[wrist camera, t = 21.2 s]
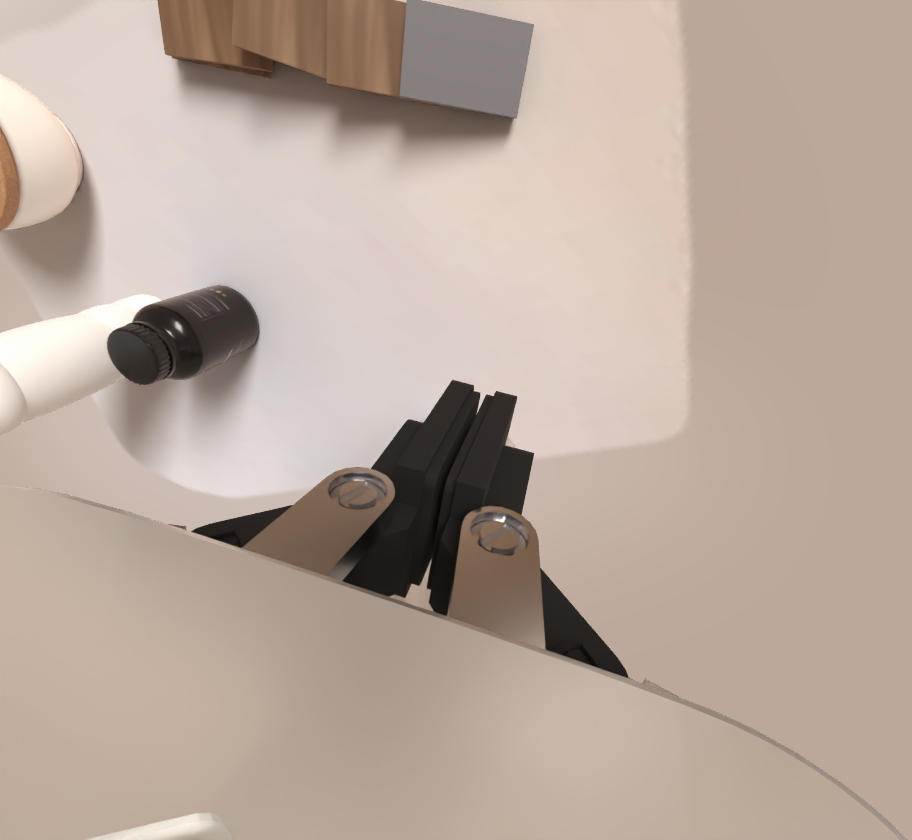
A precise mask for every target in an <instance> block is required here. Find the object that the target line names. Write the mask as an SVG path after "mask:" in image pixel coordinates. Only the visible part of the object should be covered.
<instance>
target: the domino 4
mask: <svg viewBox="0 0 912 840" xmlns="http://www.w3.org/2000/svg"><path fill="white" fill-rule="evenodd" d="M533 27H534V24H529V23H525V22H520V21H515V20H511V19H506V18H501V17H497V16H492V15H487V14H483V13H478V12H473V11H469V10H464V9H459V8H455V7H450V6H445V5H441V4H436V3H431V2H427V1H422V0H407V5H406V18H405V31H404V44H403V57H402V70H401V83H400V97H401V98H405V99H411V100H416V101H421V102H427V103H432V104H437V105H443V106H448V107H453V108H458V109H464V110H469V111H474V112H480V113H485V114H490V115H495V116H501V117H506V118H511V119H514V118H517V113H518V108H519V102H520V97H521V92H522V86H523V81H524V75H525V70H526V65H527V59H528V54H529V48H530V43H531V38H532V32H533Z"/></svg>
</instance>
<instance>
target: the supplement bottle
mask: <svg viewBox="0 0 912 840" xmlns="http://www.w3.org/2000/svg"><path fill="white" fill-rule="evenodd" d="M258 328H259V327H258V320H257V316H256V313H255V311H254V309H253V307H252V306H251V304H250V303H249V301H248V300H247V299H246V298H245V297H244V296H243V295H242V294H240V293H239V292H237V291H236V290H234V289H232V288H229V287H226V286H220V285H218V286H211V287H207V288H203V289H200V290H196V291H193V292H190V293H186V294H183V295H179V296H176V297H173V298H169V299H166V300H162V301H159V302H155V303H152V304H149V305H147V306H144V307H143V308H141V309H140V310H139V311H138V312H137V313H136V315H135V316H134V318H133V320H132V323H129V324H127V325H125V326H123V327H120V328H117V329H116V330H113V331H112V333H110V334H109V337H108V338H107V340H108V341H107V350H108V354H109V356H110V359H111V361H112V363H113V365H114V366H115V367H116V369H117V370H118V371H119V372H120V373H121V374H122V375H123V376H124V377H125V378H128V379H129V380H130V381H133V382H134V383H138V384H140V385H141V384H143V385H147V384H152V383H154V382H157V381H159V380H162V379H165V378H169V379H173V380H186V379H190V378H193V377H195V376H197V375H199V374H201V373H203V372H205V371H207V370H209V369H211V368H213V367H214V366H216V365H218V364H220V363H222V362H224V361H226V360H228V359H230V358H232V357H234V356H236V355H238V354H240V353H242V352H244V351H245V350H247V349H249V348H250V347H251V346H252V345H253V344H254V342H255V341H256V339H257V336H258Z"/></svg>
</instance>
